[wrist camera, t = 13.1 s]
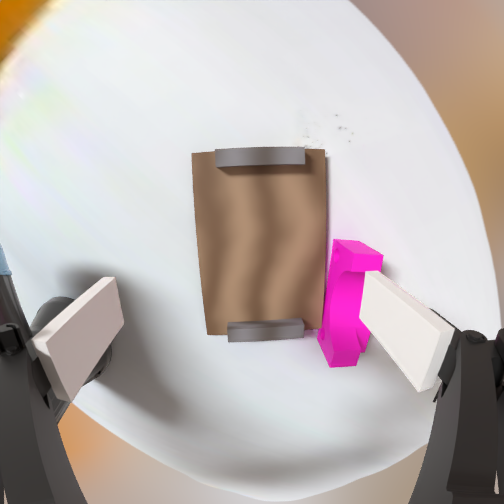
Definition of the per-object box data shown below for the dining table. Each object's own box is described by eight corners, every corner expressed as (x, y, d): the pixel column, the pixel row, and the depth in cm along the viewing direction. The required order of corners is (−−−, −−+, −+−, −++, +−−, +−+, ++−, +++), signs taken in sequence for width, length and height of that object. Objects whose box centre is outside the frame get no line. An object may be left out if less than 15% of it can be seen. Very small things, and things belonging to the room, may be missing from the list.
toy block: (354, 336, 39) (372, 364, 32) (316, 337, 39) (329, 367, 32) (374, 241, 36) (401, 256, 28) (332, 238, 35) (354, 253, 28)
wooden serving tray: (208, 331, 38) (205, 342, 35) (193, 154, 32) (188, 151, 29) (319, 324, 38) (325, 335, 35) (322, 150, 32) (329, 147, 29)
